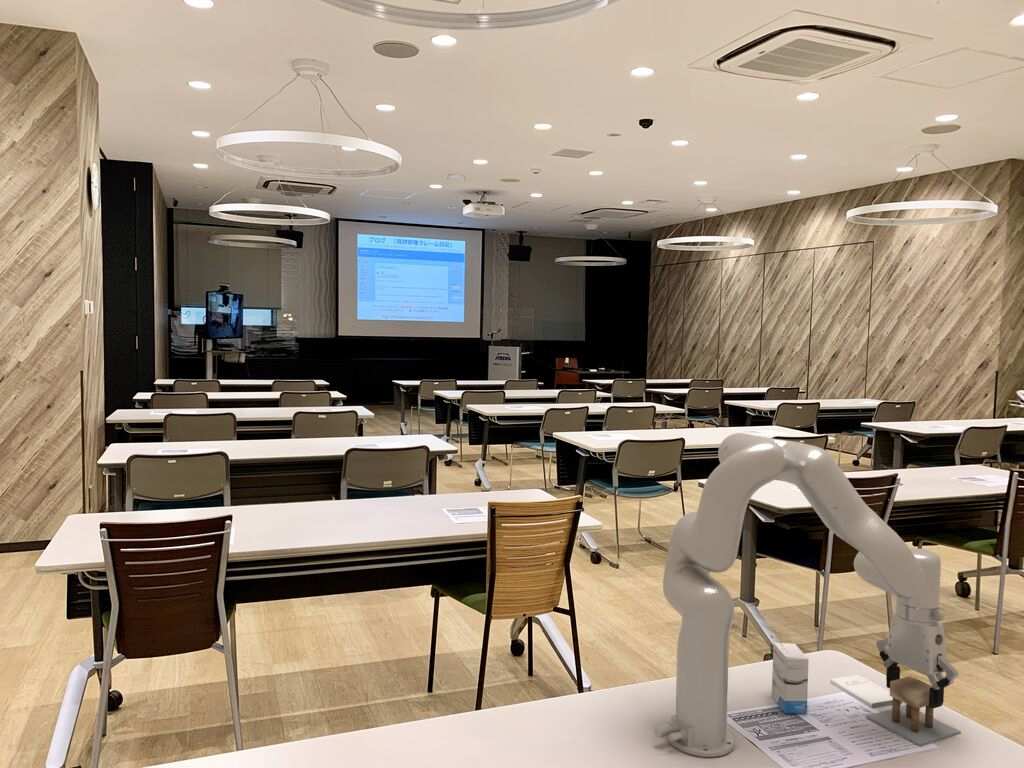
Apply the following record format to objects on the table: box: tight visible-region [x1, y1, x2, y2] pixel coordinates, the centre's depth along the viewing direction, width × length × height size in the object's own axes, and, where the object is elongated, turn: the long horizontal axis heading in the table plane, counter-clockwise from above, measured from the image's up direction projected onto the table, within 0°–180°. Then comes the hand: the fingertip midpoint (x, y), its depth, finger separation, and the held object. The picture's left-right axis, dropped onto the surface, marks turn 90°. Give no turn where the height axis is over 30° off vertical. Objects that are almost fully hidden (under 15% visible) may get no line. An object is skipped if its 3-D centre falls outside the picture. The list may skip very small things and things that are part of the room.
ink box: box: [771, 642, 809, 715], centre depth 159 cm, size 8×5×12 cm, turn 179°
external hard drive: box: [829, 674, 903, 709], centre depth 166 cm, size 2×8×12 cm
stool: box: [889, 675, 935, 733], centre depth 151 cm, size 6×6×8 cm
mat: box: [865, 704, 962, 747], centre depth 151 cm, size 12×12×1 cm
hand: (913, 696), depth 151 cm, fingers open, 9 cm apart
